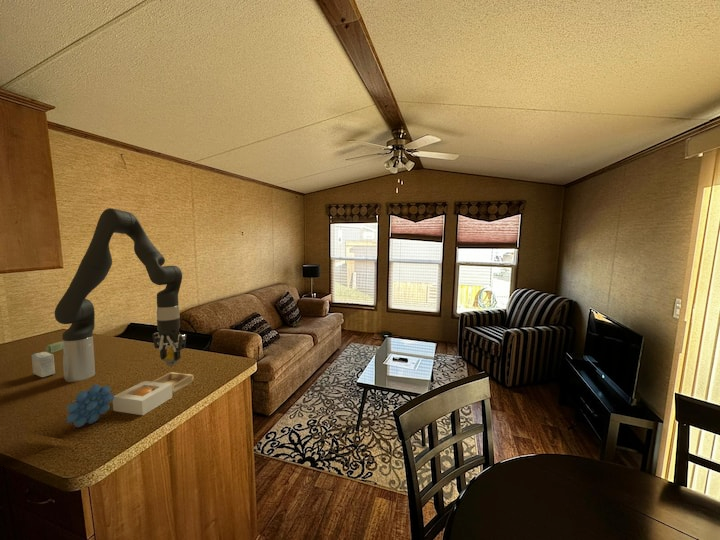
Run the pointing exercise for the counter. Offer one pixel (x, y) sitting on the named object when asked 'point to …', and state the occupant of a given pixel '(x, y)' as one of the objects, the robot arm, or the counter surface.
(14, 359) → the counter surface
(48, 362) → the medicine box
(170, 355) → the drill bit
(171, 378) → the tray
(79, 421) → the grapes
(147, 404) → the frame
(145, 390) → the button
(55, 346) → the medication box
